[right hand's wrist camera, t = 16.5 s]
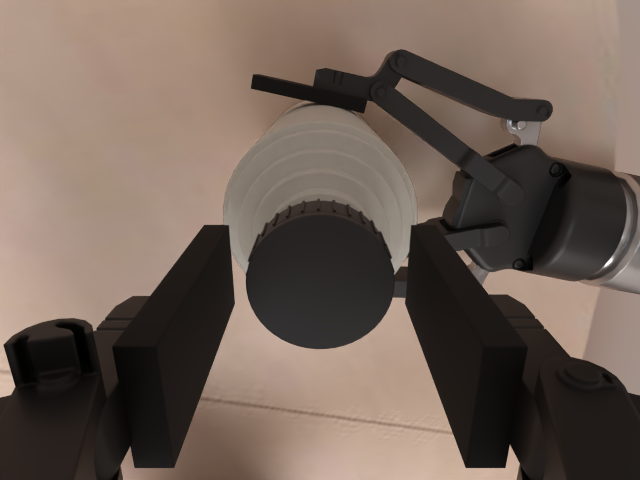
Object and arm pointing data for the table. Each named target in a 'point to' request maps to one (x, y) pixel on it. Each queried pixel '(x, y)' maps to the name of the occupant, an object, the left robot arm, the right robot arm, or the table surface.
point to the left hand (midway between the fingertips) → (244, 154)
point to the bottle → (319, 177)
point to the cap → (320, 275)
